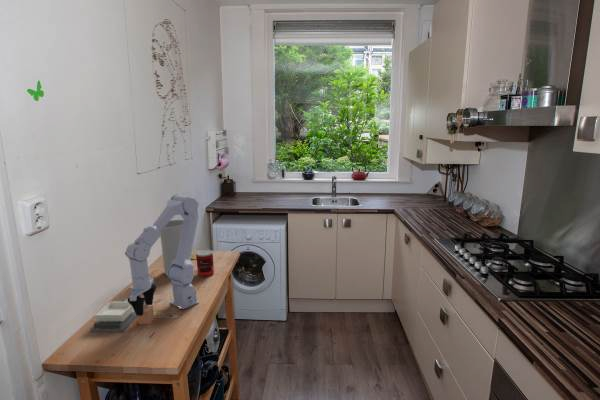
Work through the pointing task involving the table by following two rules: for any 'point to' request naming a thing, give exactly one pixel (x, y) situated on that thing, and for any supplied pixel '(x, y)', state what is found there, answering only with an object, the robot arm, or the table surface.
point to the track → (115, 323)
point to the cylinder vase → (170, 241)
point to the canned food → (205, 263)
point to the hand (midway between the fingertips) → (144, 309)
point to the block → (146, 315)
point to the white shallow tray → (114, 312)
